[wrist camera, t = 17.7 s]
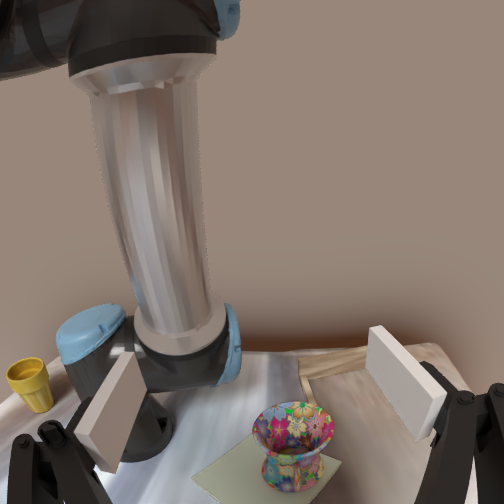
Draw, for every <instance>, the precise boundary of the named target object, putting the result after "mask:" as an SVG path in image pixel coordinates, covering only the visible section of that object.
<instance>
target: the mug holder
mask: <svg viewBox="0 0 504 504" xmlns="http://www.w3.org/2000/svg"><path fill="white" fill-rule="evenodd" d="M367 348H368V345H367V346H363V347H358V348H353V349H348V350H343V351H338V352H332V353H327V354H321V355H315V356H309V357H303V358H298V372H299V380H300V383H301V386H302V390H303V393H304V396H305V399H306V402H307V403H310V404H314V405H316V406H317V404H316V401H315V398H314V396H313V393H312V390H311V388H310V385H309V382H308V380H309V379H315V378H320V377H326V376H331V375H336V374H341V373H345V372H350V371H354V370H359V369H363V368H366V367H365V364H366V356H367Z"/></svg>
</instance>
